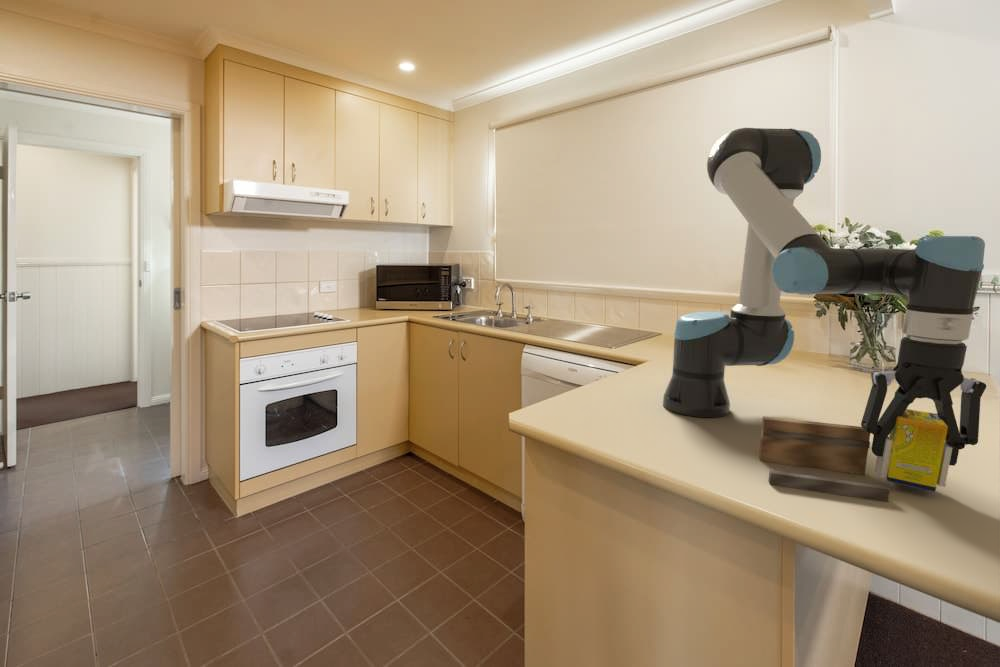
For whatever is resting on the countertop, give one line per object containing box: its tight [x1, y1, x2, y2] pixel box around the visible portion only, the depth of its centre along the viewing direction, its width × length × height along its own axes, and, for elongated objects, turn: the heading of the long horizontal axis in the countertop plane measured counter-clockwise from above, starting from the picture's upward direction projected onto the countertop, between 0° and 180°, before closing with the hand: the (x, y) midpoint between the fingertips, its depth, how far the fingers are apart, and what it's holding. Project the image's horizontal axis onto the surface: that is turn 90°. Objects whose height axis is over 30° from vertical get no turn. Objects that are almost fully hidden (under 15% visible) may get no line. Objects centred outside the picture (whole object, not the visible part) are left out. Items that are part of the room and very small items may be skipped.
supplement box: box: [886, 408, 948, 492], centre depth 76 cm, size 6×6×11 cm
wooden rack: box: [758, 416, 891, 503], centre depth 80 cm, size 16×11×8 cm
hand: (908, 478), depth 77 cm, fingers closed on supplement box, 7 cm apart
